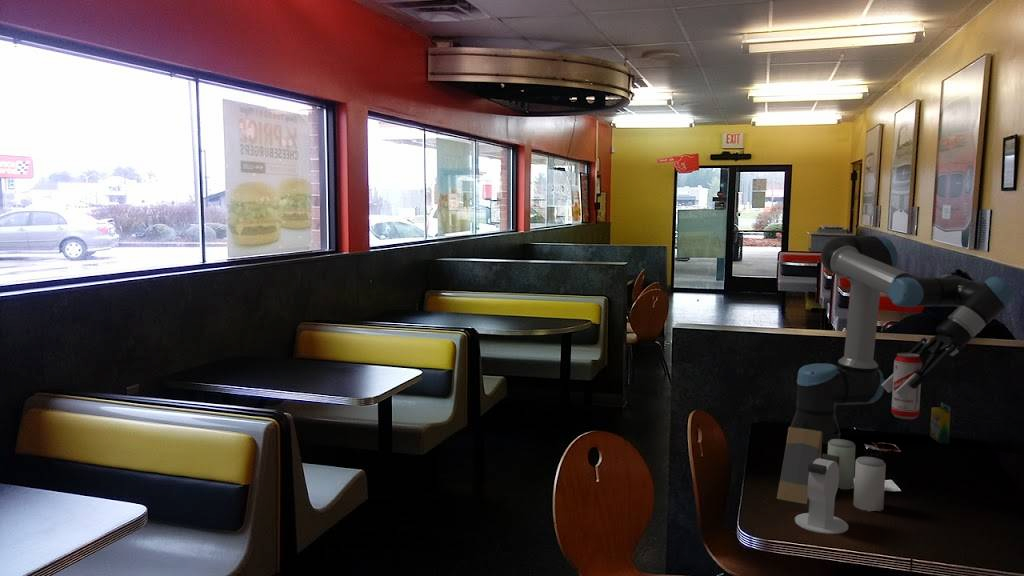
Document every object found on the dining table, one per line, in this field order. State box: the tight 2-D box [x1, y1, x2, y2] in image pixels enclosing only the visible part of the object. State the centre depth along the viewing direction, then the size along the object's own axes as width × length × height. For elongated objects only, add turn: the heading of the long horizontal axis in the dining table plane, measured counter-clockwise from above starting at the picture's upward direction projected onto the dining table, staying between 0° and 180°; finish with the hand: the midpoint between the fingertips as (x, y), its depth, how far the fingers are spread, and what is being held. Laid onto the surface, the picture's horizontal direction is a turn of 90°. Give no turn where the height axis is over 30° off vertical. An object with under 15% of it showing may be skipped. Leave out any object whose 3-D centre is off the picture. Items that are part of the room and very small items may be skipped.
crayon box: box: [929, 401, 952, 445], centre depth 241 cm, size 7×3×12 cm, turn 172°
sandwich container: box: [776, 426, 823, 505], centre depth 193 cm, size 9×15×15 cm, turn 151°
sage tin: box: [827, 438, 856, 490], centre depth 199 cm, size 7×7×12 cm
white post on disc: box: [794, 453, 849, 535], centre depth 174 cm, size 12×11×15 cm
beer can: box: [890, 352, 923, 420], centre depth 192 cm, size 6×6×16 cm
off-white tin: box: [853, 456, 887, 512], centre depth 184 cm, size 7×7×12 cm
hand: (892, 391), depth 192 cm, fingers closed on beer can, 6 cm apart
